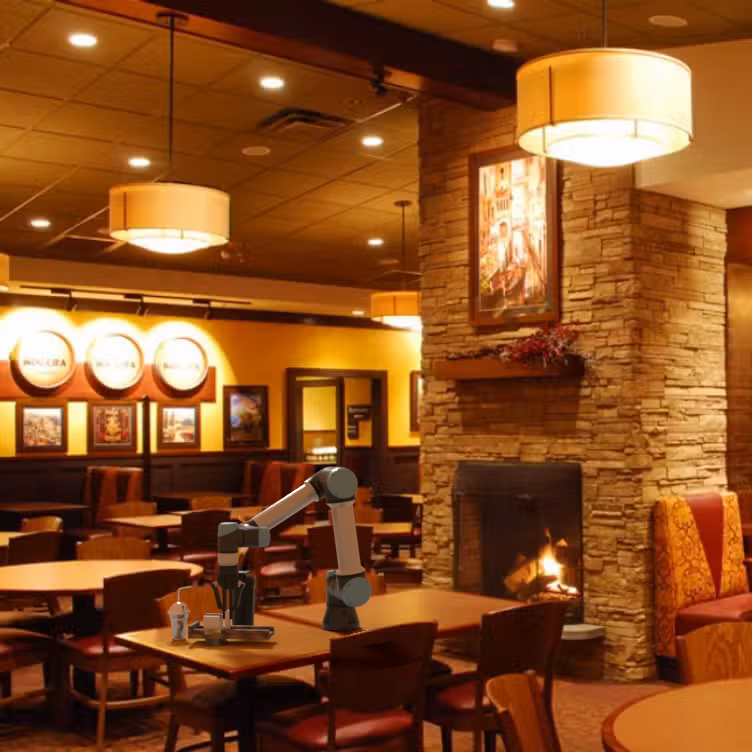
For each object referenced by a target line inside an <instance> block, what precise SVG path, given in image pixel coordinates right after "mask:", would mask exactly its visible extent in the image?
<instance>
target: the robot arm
mask: <svg viewBox="0 0 752 752" xmlns="http://www.w3.org/2000/svg"><path fill="white" fill-rule="evenodd" d="M358 485H359V484H358V478H357V476H356V474H355V473H354V472H353V471H352V470H350V469H349V468H347V467H343V466H327V467H324V468H322V469H320V470H319V471H318V472H315V474H313V475H311V476H310V477H309V478H307V479H306V480H304V482H303V485H301V486H300V487H298V488H297V489H295V490H294V491H292V492H291V493H288V494H287V495H286V496H284V497H283V498H281V499H280V500H278V501H277V502H275V503H273V504H272V505H270V506H269V507H267V508H265V509H264V510H262V511H261V512H259V513H258V514H257V515H255V516H253V517H251V518H250V519H249V520H247V521H245V522H244V523H240V524H239V523H238V522H230V521H229V522H226V521H225V522H221V523H219V524H218V528H217V564H218V565H217V578H216V580H215V581H213V582H212V583H211V584H210V587H211V588H212V590H213V595H214V598H215V601H216V602H215V603H216V607H217V609H218V610H221V611H222V614H223V620H224V625H225V629H230V628H231V625H232V619H233V611H234V609H237V608H238V607H239V602H240V598H241V594H242V590H243V588H244V586H245V583H242V582H241V581H240V579H239V577H238V571H239V565H238V563H239V548H242V549H243V548H261V547H262V548H263V547H268V546H269V545H270V542H271V533H270V530H271V529H273V528H275V527H276V526H277V525H279V524H281V523H282V522H284V521H286V520H287V519H288V518H291V516H293V515H294V514H296V513H298V512H299V511H301V510H303V509H304V508H305V507H307V506H308V505H310V504H312V503H313V502H317V503H318V502H319V501H321V500H323V499H324V498H325V502H326V503H325V504H326V505H327V506H329V508H330V511H331V519H332V526H333V527H332V528H333V534H334V543H335V550H336V557H337V565H338V569H332V570H331V569H330V570H327V571H326V575H325V596H326V597H325V600H326V601H325V603H326V604H325V605H326V607H325V611H324V615H323V618H322V621H321V628H322V629H323V630H326V631H327V630H328V631H339V632H340V631H353V630H352V629H354V630H357V628H358V629H360V628H361V627H360V626H361V622H360V617H359V615H358V611H357V608H359V607H362V606H365V605H366V604H367V603H368V601H369V600H370V599H371V596H372V594H373V593H372V592H373V591H372V585H371V583H370V581H369V580H368V579H367V574H366V568H364V567H363V566H362V564H361V558H360V551H359V541H358V536H357V535H358V534H357V527H356V521H355V513H354V505H353V504H355V502H356V500H357V498H356V491H357V489H358ZM237 584H238V587H239V588H238V592H237V596H236V600H235V604H234V588H235V587H236V585H237ZM218 586H219V587H220V588H221V595H220V592H219V591H220V590H219V588H218ZM221 598H222V599H221Z"/></svg>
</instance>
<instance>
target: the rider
mask: <svg viewBox="0 0 752 752" xmlns="http://www.w3.org/2000/svg"><path fill="white" fill-rule="evenodd" d="M203 625H204V629H223V625H224V619H223V613H217V612H216V613H210V612H209V613H205V614H204V615H203Z"/></svg>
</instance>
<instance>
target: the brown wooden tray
mask: <svg viewBox="0 0 752 752" xmlns="http://www.w3.org/2000/svg"><path fill="white" fill-rule="evenodd" d="M187 632H188V633H187V639H190V640H192V639H193V640H194V639H195V640H196V639H197V640H199V639H200V640H203V639H204V646H205V647H219V646H221V645H222V644H224V642H226V641H227V640H259V641H261V640H263V641H264V640H265V641H266V640H267V641H269V640H270V639H271V638H272V637H273V636H274V635H276V634H275V633H276V631H275V625H254V626H242V625H232V624H231V628H230V629H225V624H223V629H204V624H201V620H195V621H194V622H193V623H191V624H190V625H187ZM226 639H227V640H226ZM225 640H226V641H225ZM220 644H221V645H220Z"/></svg>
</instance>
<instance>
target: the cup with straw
mask: <svg viewBox="0 0 752 752" xmlns="http://www.w3.org/2000/svg"><path fill="white" fill-rule="evenodd" d="M191 588H193V585H187V586H182V587H179V588H178V589H177V601H176V602H174V603H173V604H172V605H170V608H169V610H168V611H167V614H168V615H169V619H170V625H171V634H172V639H173V640H175V641H177V640H180V641H181V640H184V639H185V640H186V637H185V636H186V631H187V623H188V617H189V614H190V613H191V610H190V609H189V608H188V605H187V603H185V602H182V601H181V600H180V598H181V597H180V595H181V594H180V593H181V592H180V591H181V590H184V589H185V590H187V589H191Z"/></svg>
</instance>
